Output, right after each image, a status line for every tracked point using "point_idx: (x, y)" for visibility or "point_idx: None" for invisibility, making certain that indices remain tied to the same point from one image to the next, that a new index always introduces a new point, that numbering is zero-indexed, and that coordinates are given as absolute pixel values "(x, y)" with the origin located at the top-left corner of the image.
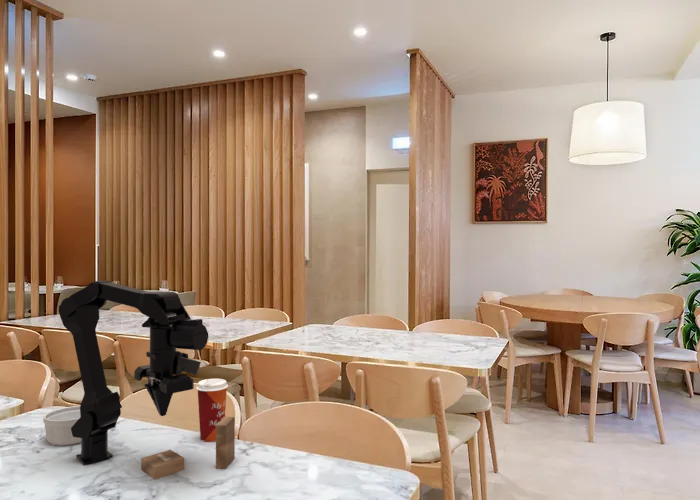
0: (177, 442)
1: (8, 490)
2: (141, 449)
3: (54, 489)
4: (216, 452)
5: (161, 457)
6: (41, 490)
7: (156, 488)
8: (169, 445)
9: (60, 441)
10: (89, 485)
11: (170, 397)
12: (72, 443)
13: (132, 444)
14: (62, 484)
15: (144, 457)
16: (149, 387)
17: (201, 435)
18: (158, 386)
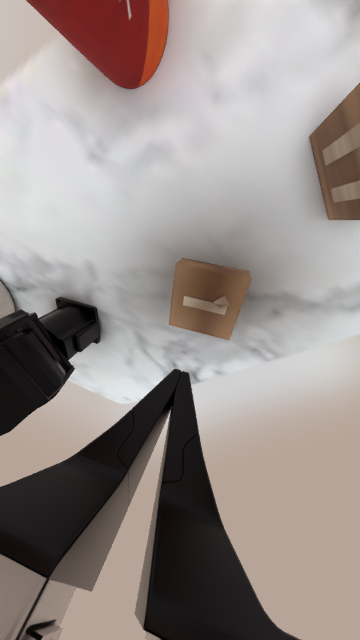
0: (96, 169)
1: (115, 400)
2: (89, 256)
3: (145, 388)
4: (358, 219)
5: (202, 307)
6: (137, 393)
7: (260, 346)
8: (102, 199)
9: None
10: (165, 372)
11: (205, 471)
12: (13, 308)
13: (55, 251)
14: (138, 379)
15: (170, 319)
16: (95, 582)
17: (117, 80)
18: (92, 568)
